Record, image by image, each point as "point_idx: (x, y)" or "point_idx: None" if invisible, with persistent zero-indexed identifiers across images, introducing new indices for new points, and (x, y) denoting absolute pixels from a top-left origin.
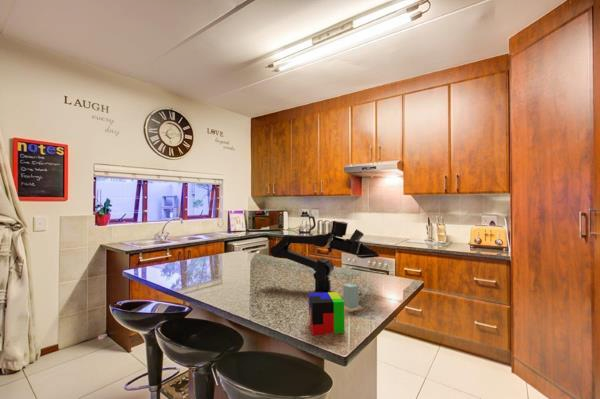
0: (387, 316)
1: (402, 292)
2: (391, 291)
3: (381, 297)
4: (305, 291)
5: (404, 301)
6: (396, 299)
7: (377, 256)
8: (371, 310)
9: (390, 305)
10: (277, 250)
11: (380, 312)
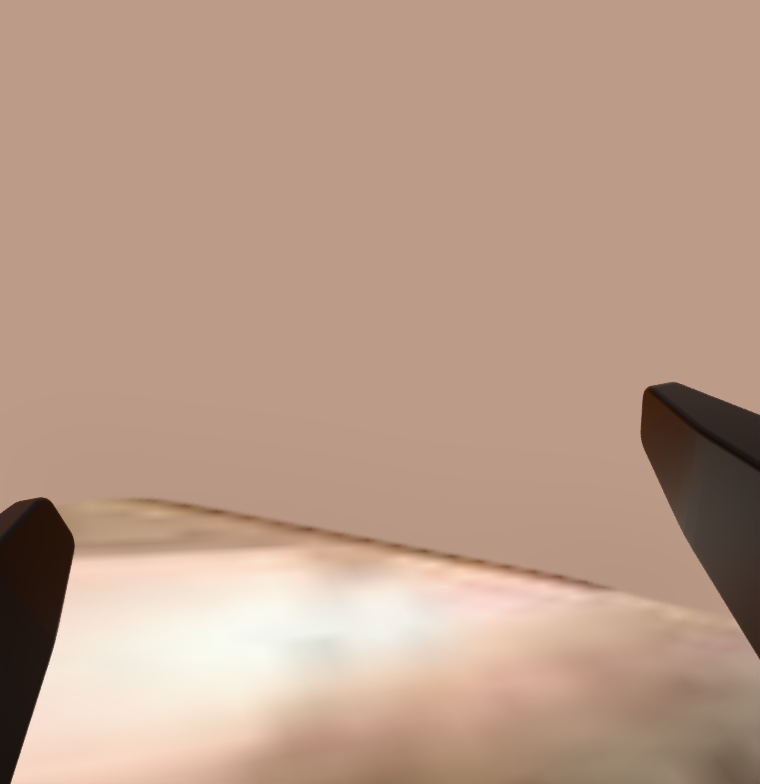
0: None
1: None
2: None
3: (302, 751)
4: None
5: (344, 533)
6: (315, 595)
7: (65, 562)
8: (738, 778)
9: (502, 627)
10: None
11: (717, 685)
